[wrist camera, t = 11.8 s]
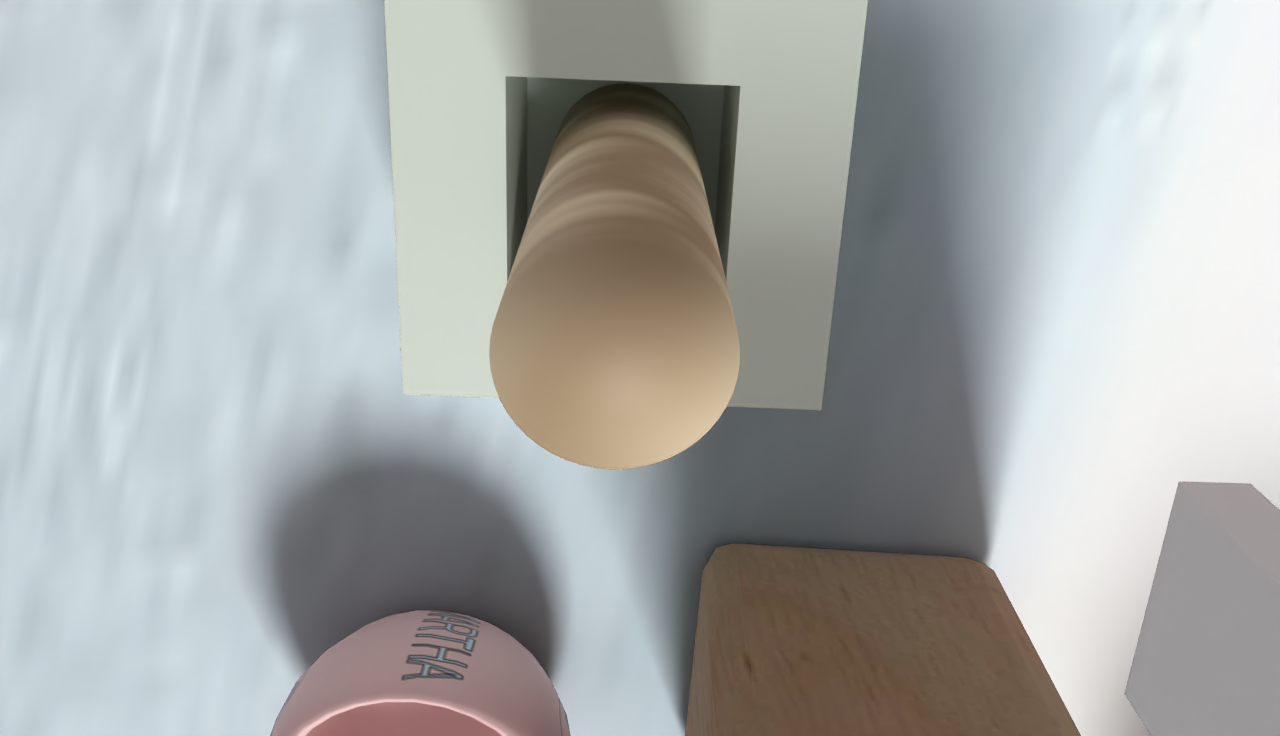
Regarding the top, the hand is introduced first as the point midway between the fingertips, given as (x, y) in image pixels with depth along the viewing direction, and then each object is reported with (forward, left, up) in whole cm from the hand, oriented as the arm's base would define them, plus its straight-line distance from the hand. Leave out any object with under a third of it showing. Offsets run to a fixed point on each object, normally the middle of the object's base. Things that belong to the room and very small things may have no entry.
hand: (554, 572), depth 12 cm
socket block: (0, 0, -22) cm, 22 cm away
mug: (-6, -21, -23) cm, 31 cm away
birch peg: (0, 0, -21) cm, 21 cm away
